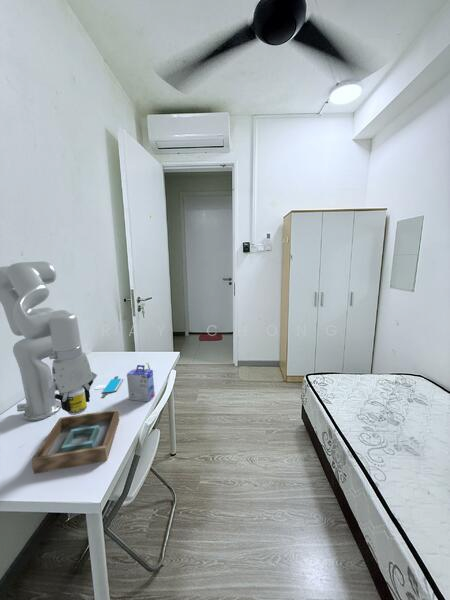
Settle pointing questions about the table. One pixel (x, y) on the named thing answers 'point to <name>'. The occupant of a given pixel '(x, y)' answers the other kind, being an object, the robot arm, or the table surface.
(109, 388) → the blue flat piece
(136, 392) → the ink cartridge box
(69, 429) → the walled box
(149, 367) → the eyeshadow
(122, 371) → the table surface
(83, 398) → the supplement bottle
